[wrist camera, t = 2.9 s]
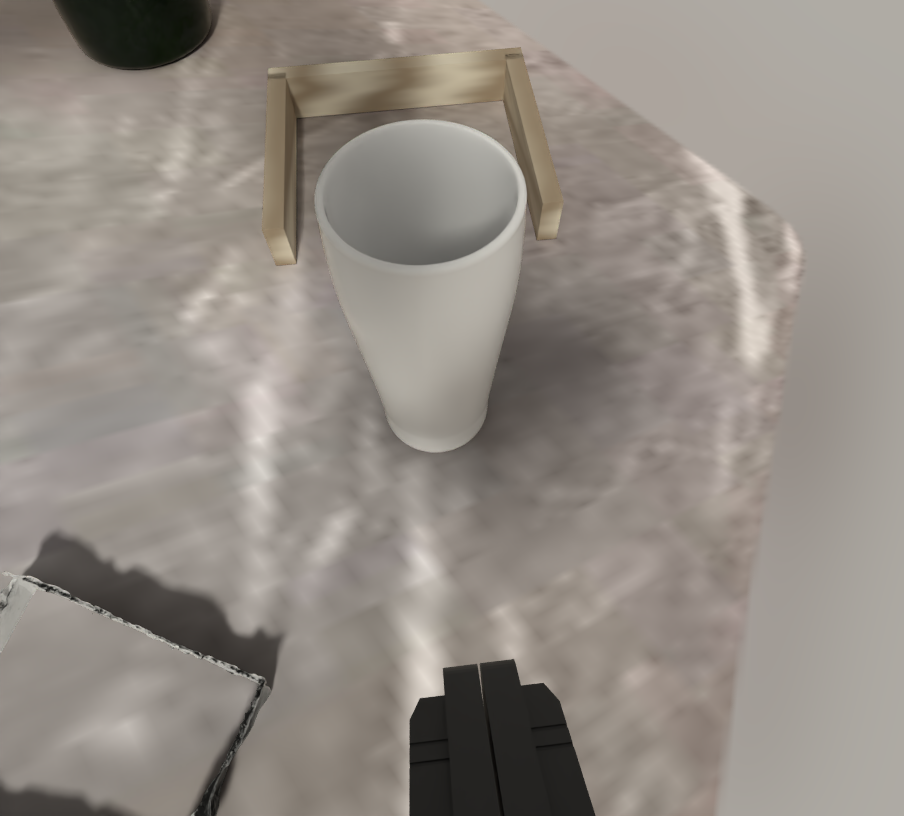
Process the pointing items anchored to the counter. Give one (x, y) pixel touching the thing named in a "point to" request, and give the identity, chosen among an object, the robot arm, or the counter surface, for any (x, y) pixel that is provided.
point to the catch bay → (401, 89)
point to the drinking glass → (425, 268)
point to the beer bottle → (136, 29)
